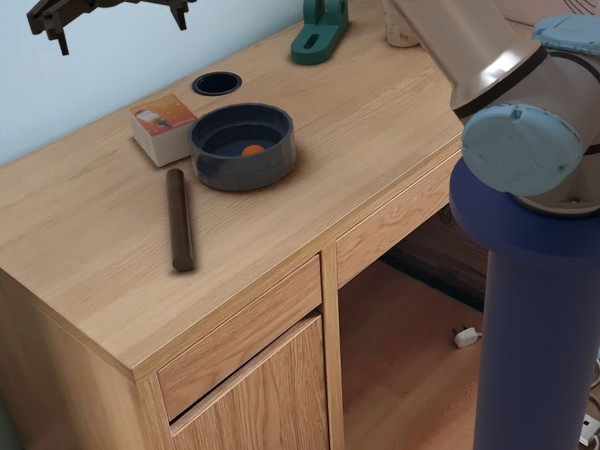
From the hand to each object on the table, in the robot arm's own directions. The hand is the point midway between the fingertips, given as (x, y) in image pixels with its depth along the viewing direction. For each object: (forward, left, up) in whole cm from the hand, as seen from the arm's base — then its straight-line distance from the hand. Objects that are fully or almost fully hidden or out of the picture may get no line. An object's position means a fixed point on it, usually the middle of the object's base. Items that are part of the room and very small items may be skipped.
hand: (123, 31), depth 89 cm
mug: (+12, -61, -28) cm, 69 cm away
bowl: (+4, -16, -28) cm, 33 cm away
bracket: (+26, -51, -28) cm, 64 cm away
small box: (+23, -13, -25) cm, 36 cm away
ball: (+1, -16, -25) cm, 30 cm away
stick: (-9, +4, -27) cm, 29 cm away
